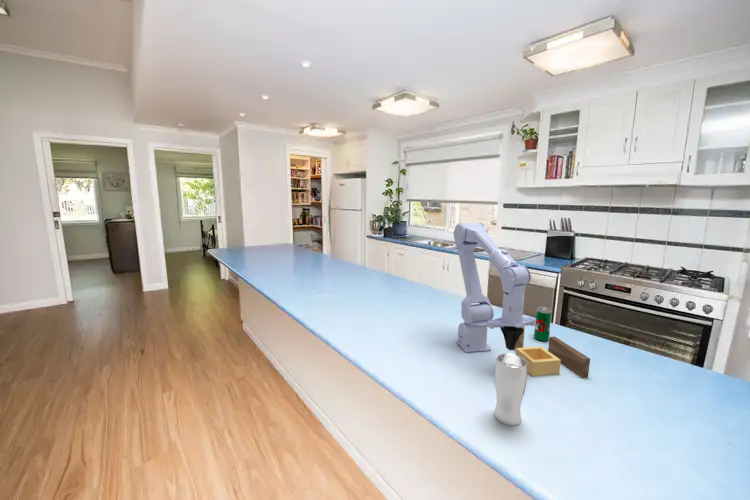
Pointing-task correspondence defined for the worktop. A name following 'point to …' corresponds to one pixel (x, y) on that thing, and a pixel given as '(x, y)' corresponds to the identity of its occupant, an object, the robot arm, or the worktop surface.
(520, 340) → the dowel
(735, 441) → the worktop surface
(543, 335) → the soda can
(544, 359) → the socket block
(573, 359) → the walnut wall
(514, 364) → the beer glass
